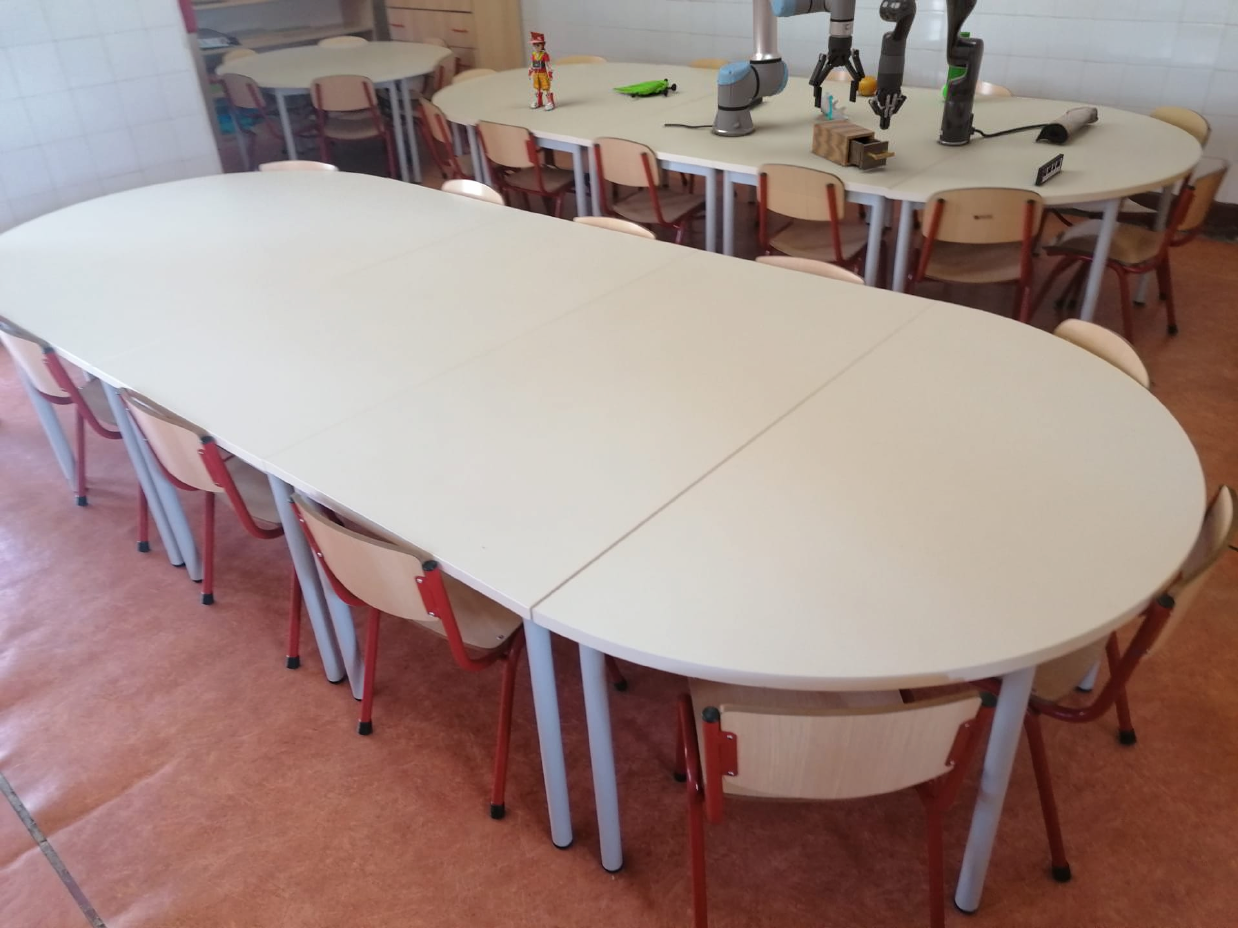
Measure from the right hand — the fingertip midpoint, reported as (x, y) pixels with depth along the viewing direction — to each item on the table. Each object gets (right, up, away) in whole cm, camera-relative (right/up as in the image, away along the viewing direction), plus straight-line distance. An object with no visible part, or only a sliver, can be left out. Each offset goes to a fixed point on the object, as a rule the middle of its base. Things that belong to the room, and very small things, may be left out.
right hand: (884, 129), depth 279 cm
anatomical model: (-1, +28, +65) cm, 71 cm away
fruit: (+20, +49, +92) cm, 106 cm away
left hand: (-10, +16, +20) cm, 28 cm away
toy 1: (-116, +48, +104) cm, 162 cm away
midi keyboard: (+49, -17, -5) cm, 52 cm away
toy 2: (-73, +60, +118) cm, 151 cm away
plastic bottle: (+50, +39, +75) cm, 99 cm away
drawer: (-3, -5, +15) cm, 16 cm away
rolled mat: (+73, +10, +32) cm, 81 cm away
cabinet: (-7, 0, +24) cm, 26 cm away
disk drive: (-32, +43, +88) cm, 103 cm away
